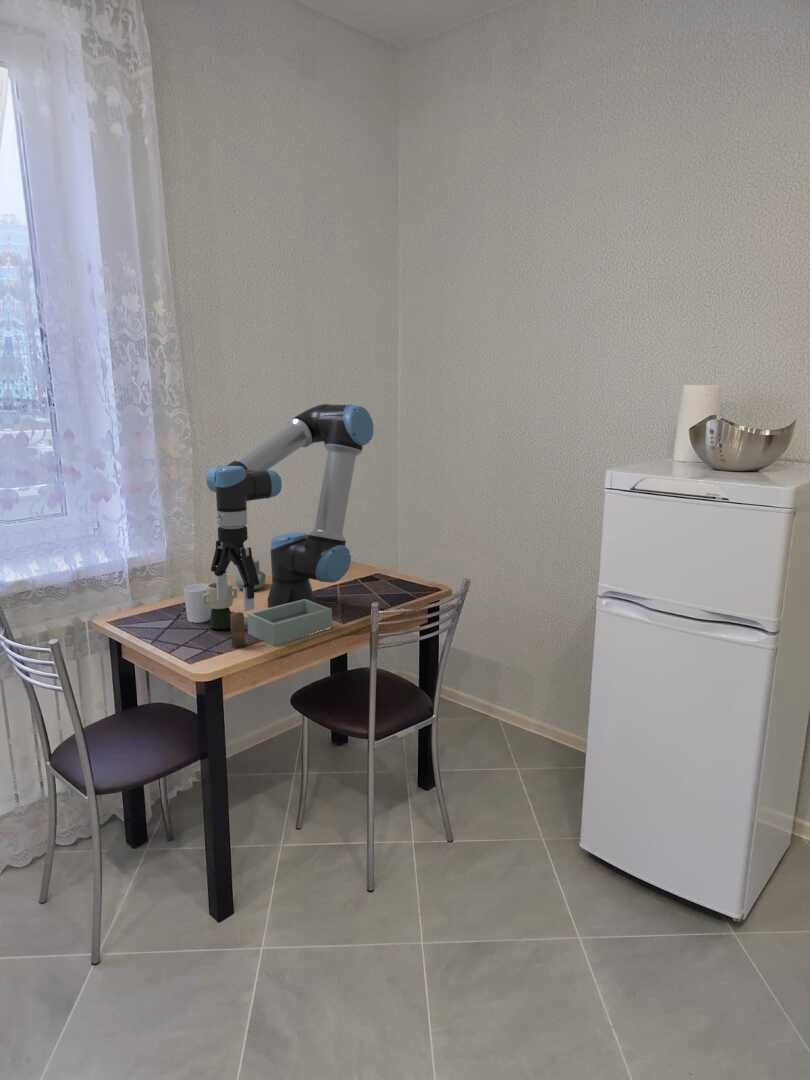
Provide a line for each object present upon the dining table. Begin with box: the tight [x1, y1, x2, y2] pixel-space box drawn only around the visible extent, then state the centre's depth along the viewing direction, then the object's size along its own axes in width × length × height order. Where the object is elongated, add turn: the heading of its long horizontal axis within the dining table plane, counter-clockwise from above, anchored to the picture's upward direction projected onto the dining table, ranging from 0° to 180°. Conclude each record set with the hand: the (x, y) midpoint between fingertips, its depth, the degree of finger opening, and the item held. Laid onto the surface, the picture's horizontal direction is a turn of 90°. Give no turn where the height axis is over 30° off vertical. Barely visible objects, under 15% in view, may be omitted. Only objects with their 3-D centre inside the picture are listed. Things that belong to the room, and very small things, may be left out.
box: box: [246, 599, 333, 647], centre depth 203 cm, size 20×13×6 cm, turn 134°
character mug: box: [202, 581, 238, 630], centre depth 205 cm, size 11×7×13 cm, turn 132°
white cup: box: [183, 583, 212, 624], centre depth 212 cm, size 8×8×10 cm
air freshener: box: [235, 557, 266, 591], centre depth 244 cm, size 11×8×10 cm
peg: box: [230, 611, 246, 649], centre depth 191 cm, size 4×4×9 cm
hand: (235, 604), depth 189 cm, fingers open, 13 cm apart
